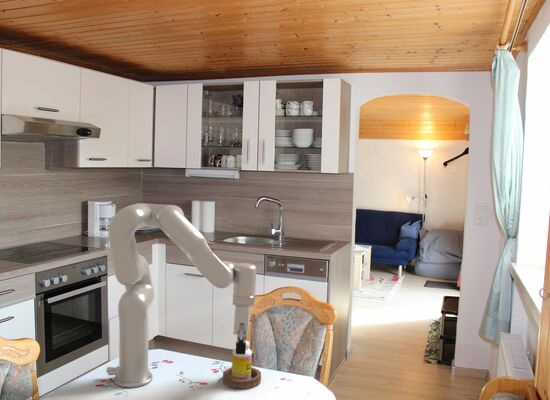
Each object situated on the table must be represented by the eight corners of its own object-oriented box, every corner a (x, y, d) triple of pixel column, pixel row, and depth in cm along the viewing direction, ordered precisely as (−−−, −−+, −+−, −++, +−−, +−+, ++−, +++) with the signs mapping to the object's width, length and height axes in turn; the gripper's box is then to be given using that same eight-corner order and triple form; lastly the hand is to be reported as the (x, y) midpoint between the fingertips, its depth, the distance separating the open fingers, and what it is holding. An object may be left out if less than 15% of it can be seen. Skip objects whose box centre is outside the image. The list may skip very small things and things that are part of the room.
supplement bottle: (247, 384, 168) (249, 346, 168) (228, 381, 170) (230, 344, 169) (253, 376, 175) (254, 340, 174) (235, 373, 176) (236, 338, 176)
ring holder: (221, 389, 165) (222, 381, 165) (224, 373, 178) (224, 365, 178) (260, 389, 166) (261, 381, 166) (260, 373, 179) (260, 366, 179)
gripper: (233, 293, 179) (231, 339, 180) (231, 306, 162) (228, 357, 163) (254, 294, 179) (251, 340, 180) (254, 307, 162) (251, 358, 163)
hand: (240, 348), depth 171 cm, fingers open, 9 cm apart
